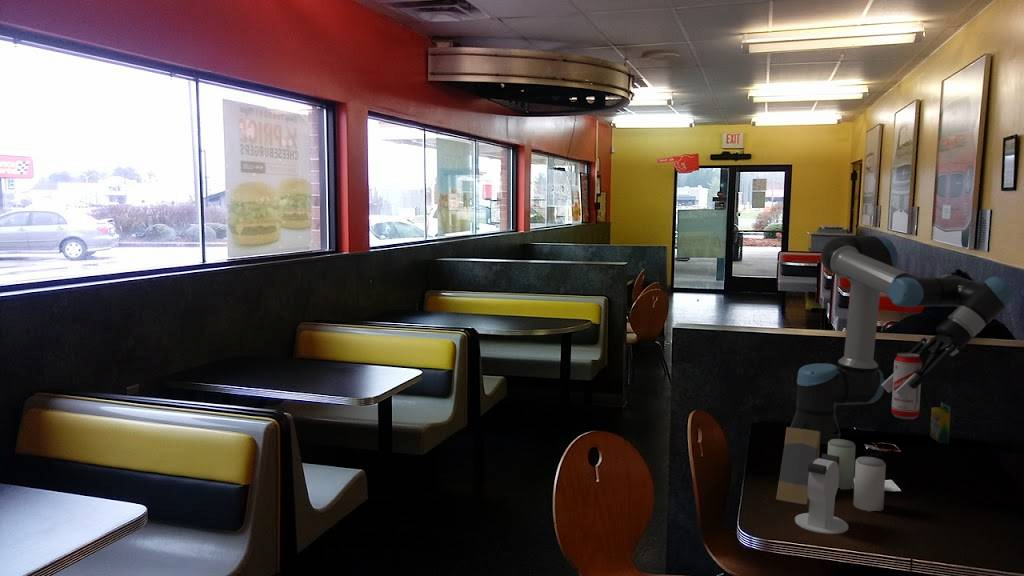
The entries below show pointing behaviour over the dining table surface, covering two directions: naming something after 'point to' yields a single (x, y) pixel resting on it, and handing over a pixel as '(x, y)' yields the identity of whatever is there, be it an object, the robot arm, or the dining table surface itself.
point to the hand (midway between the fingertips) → (892, 391)
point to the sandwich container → (797, 464)
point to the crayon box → (940, 424)
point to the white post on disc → (822, 497)
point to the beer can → (902, 371)
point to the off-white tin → (869, 484)
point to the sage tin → (844, 461)
